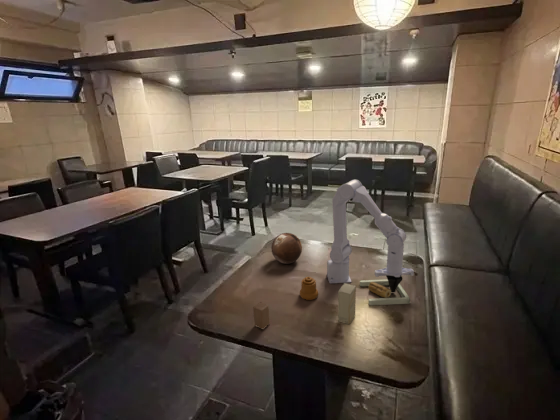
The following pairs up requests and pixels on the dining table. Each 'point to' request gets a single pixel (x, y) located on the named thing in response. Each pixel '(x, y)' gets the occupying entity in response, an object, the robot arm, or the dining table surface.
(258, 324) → the wooden block
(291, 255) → the wooden sphere
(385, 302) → the pale grey flat frame
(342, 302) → the skincare box
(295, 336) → the dining table surface
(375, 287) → the carved stone cylinder
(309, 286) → the ornamental finial
